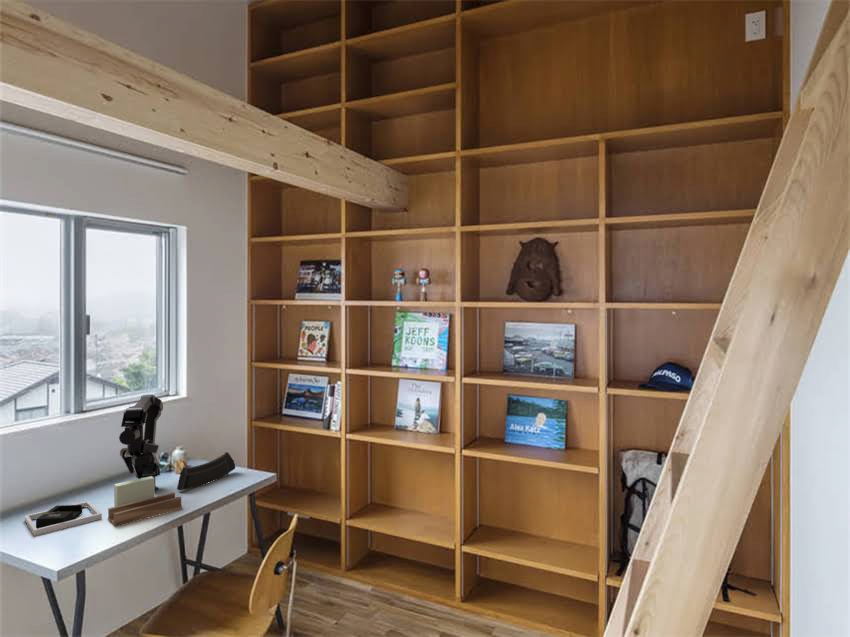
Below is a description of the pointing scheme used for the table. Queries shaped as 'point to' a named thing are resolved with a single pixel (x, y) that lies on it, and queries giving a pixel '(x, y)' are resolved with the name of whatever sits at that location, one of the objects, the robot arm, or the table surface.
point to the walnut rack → (143, 509)
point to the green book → (134, 491)
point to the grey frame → (62, 525)
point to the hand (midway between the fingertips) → (135, 475)
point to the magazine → (205, 472)
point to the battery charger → (59, 515)
